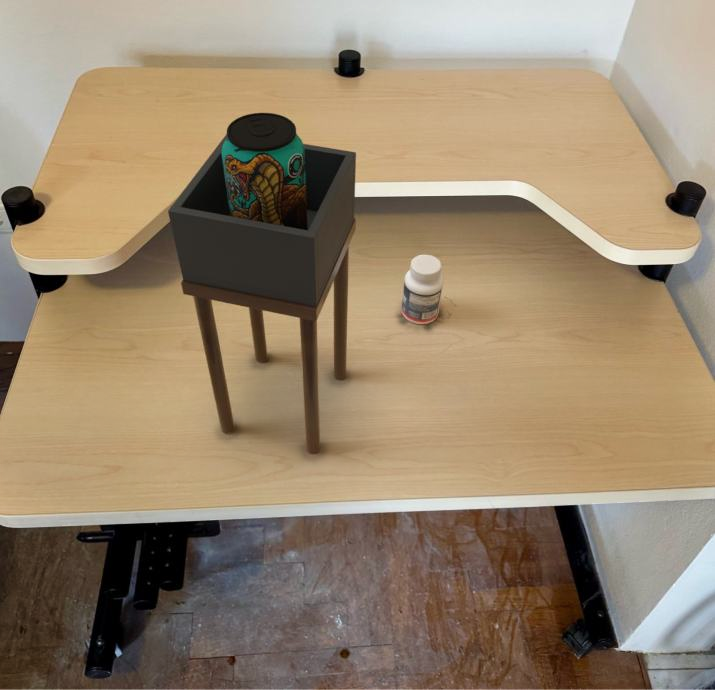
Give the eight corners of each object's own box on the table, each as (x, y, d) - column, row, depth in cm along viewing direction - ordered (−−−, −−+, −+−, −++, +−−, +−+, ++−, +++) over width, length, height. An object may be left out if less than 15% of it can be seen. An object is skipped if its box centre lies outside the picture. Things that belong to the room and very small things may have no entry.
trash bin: (316, 307, 60) (314, 237, 54) (182, 280, 62) (167, 210, 56) (354, 219, 69) (356, 152, 63) (236, 198, 70) (228, 131, 65)
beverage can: (246, 274, 61) (231, 159, 52) (226, 230, 66) (209, 116, 57) (318, 257, 63) (315, 142, 54) (294, 215, 67) (288, 103, 59)
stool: (320, 459, 77) (316, 309, 59) (214, 434, 79) (180, 282, 61) (351, 370, 86) (355, 218, 69) (256, 349, 88) (236, 196, 71)
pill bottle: (406, 295, 96) (411, 247, 90) (441, 303, 95) (449, 255, 89) (397, 320, 93) (402, 272, 86) (434, 329, 92) (441, 280, 85)
